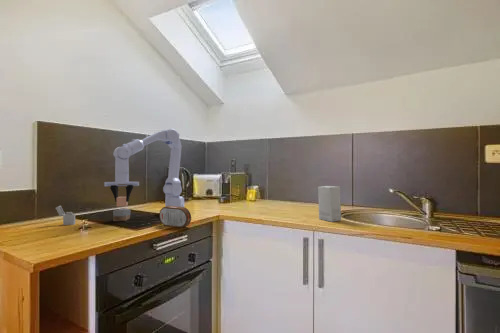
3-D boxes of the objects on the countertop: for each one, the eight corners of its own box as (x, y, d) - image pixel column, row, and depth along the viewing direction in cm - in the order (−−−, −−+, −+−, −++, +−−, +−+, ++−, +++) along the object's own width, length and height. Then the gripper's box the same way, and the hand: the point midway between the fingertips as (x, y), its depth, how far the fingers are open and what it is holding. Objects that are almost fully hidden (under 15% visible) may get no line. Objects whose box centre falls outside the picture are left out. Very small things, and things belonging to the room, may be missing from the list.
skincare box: (341, 220, 124) (341, 186, 124) (330, 222, 121) (330, 187, 120) (327, 217, 131) (327, 185, 131) (317, 219, 128) (317, 186, 128)
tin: (191, 227, 111) (191, 206, 111) (186, 229, 108) (186, 208, 108) (163, 224, 118) (163, 204, 118) (158, 225, 115) (158, 205, 115)
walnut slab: (129, 219, 129) (129, 214, 129) (125, 221, 124) (125, 216, 124) (117, 219, 129) (117, 214, 129) (113, 222, 123) (113, 216, 123)
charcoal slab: (130, 214, 128) (130, 209, 128) (123, 216, 123) (123, 211, 123) (121, 214, 130) (121, 208, 130) (113, 216, 125) (113, 210, 125)
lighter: (75, 223, 118) (75, 205, 118) (73, 224, 116) (73, 206, 116) (57, 224, 117) (57, 205, 117) (55, 225, 115) (55, 206, 115)
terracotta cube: (127, 204, 129) (127, 196, 129) (125, 206, 125) (125, 197, 125) (118, 205, 128) (118, 196, 128) (116, 206, 124) (116, 197, 124)
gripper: (140, 172, 132) (140, 200, 132) (107, 172, 128) (107, 201, 128) (137, 172, 125) (137, 202, 125) (103, 172, 121) (103, 203, 121)
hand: (122, 201), depth 126 cm, fingers closed on terracotta cube, 4 cm apart
